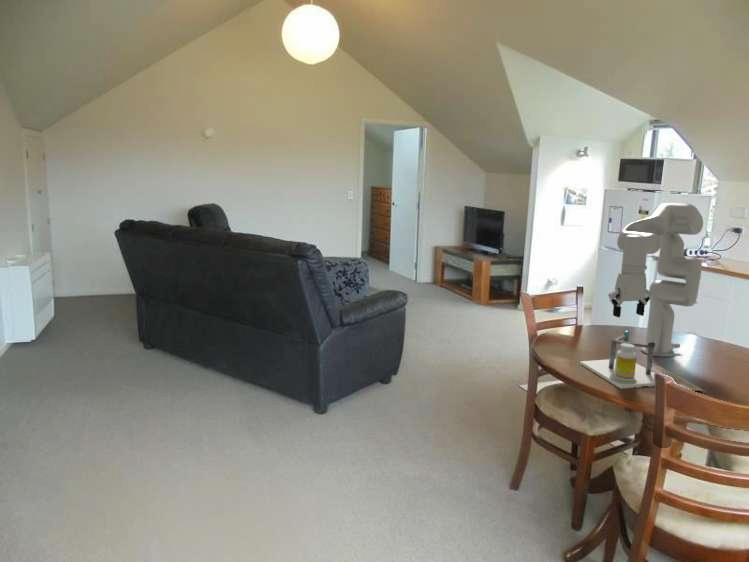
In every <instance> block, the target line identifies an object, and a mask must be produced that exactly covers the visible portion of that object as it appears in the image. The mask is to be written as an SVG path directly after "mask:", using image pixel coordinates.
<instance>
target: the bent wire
mask: <svg viewBox="0 0 749 562" xmlns="http://www.w3.org/2000/svg"><path fill="white" fill-rule="evenodd" d="M630 336H631V332H630V331H629V330H624V331H623V335H620V336H619V337H616V338H615V339H614V338H613V339H611V341H610V343H611V344H610V353H609V369H614V361H615V359H616V353H617V351H616V350H617V345H621V344H622V343H628V344H632V345H634V346H635V347H639V348H641V347H645V348H648V354H647V357H646V366H645V368H646V373H645V374H647V375H651V368H652V367H653V366H652V365H653V360H654V359H653V358H654V356H653V352H654V347H655V343H654V342H652V341H651V342H649V343H648V345H647V344H646V343H639V342H632V341H631V342H630V341H629V338H630Z"/></svg>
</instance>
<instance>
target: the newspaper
mask: <svg viewBox="0 0 749 562" xmlns="http://www.w3.org/2000/svg"><path fill="white" fill-rule="evenodd" d="M651 370H652V371H653V372H655V373H662V374H665V375H668V376H670V377H672V378H673V379H674V381H675V382H676V383H677V384H679V385H682V386H684V387H686V388H689V389H691V390H694V391H693V392H695V391H696V392H697V391H700V392H702V393H706V390H703V388H700V387H699V386H697V385H694V384H692V383H691V382H689V381H687V380H685V379H684V378H682V377H680V376H678V375H677V374H675V373H673V372H671V371H669V370H668V369H666V368H664V367H663V366H660V365H659V366H658V365H654V366H652V368H651Z"/></svg>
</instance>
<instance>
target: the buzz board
mask: <svg viewBox="0 0 749 562" xmlns="http://www.w3.org/2000/svg"><path fill="white" fill-rule="evenodd" d="M609 359H610V358H609ZM609 359H597V360H596V359H595V360H594V359H592V360H581V361H579V362H580V363H579V364H580V366H582V365H583V366H582V367H583V368H586V369H588V370H589V371H591V372H592V373H593V374H595V373H596V375H598V376H599V377H600V378H602V379H604V380H606V381H607V382H609V383H610V384H612V385H614V386H616V387H617V388H618V389H622V390H623V389H632V388H634V387H636V388H643V387H642V386H648V387H655V386H654V374H655V373H654V372H652V371H651V375H647V374H645V373H646V366H642V365H641V364H639V363H638V362H636V366H635V375H634V380H632V381H621V380H618V379H616V378H615V376H614V373H615V364H616V358H615V361H614V369H609Z"/></svg>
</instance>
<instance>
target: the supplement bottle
mask: <svg viewBox="0 0 749 562" xmlns="http://www.w3.org/2000/svg"><path fill="white" fill-rule="evenodd" d="M619 345H620V347H619V348H620V349H618V350H617V351H616V353H615V359H616V364H615V373H614V376H615V378H616V379H618V380H621V381H632V380H634V375H635V366H636V363H637V357H638V356H637V353H636V352H635V351H634V350H635V348H636V346H634V345H632V344H628V343H622V344H619Z"/></svg>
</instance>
